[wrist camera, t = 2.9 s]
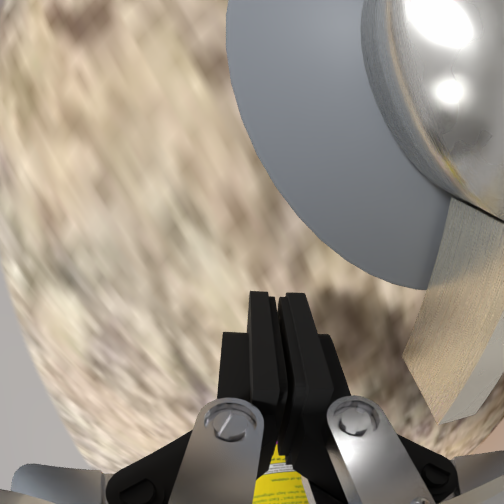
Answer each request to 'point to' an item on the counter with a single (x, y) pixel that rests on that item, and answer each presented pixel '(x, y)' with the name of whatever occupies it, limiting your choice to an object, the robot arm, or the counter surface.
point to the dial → (450, 180)
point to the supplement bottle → (279, 484)
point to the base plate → (332, 136)
